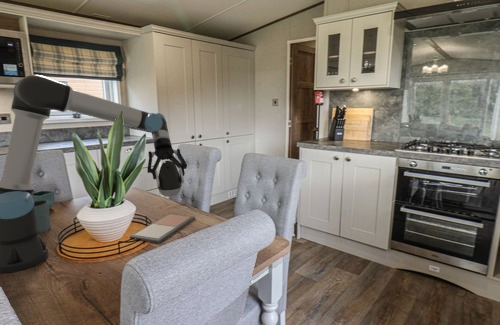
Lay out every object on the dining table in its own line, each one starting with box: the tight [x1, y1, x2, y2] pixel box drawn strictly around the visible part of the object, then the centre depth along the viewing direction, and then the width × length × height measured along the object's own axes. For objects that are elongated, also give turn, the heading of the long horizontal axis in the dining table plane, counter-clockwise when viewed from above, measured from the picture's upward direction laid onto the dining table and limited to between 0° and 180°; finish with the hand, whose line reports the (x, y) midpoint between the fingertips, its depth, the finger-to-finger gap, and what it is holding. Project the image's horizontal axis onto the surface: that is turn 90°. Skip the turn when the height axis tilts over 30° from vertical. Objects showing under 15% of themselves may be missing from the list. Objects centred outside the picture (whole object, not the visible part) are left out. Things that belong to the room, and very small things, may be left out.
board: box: [129, 213, 196, 244], centre depth 130 cm, size 26×14×1 cm, turn 159°
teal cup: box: [34, 200, 52, 234], centre depth 131 cm, size 10×10×12 cm
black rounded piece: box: [157, 160, 183, 198], centre depth 132 cm, size 10×10×15 cm
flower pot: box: [32, 190, 55, 210], centre depth 157 cm, size 9×9×9 cm
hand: (170, 183), depth 129 cm, fingers closed on black rounded piece, 9 cm apart
